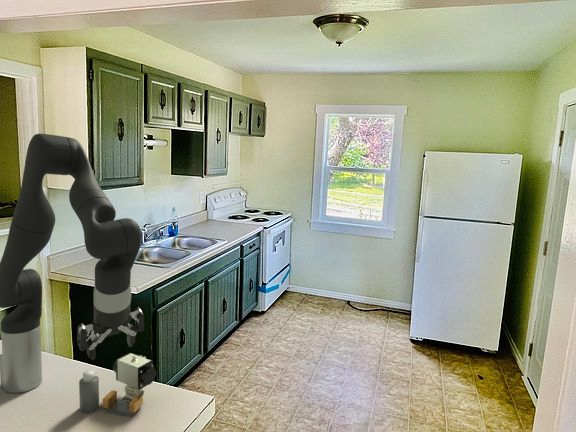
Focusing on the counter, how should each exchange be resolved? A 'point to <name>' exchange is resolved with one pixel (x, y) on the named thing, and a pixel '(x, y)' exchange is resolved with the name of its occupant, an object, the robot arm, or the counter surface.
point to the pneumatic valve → (134, 373)
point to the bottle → (89, 392)
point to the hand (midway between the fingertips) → (111, 350)
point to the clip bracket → (121, 404)
